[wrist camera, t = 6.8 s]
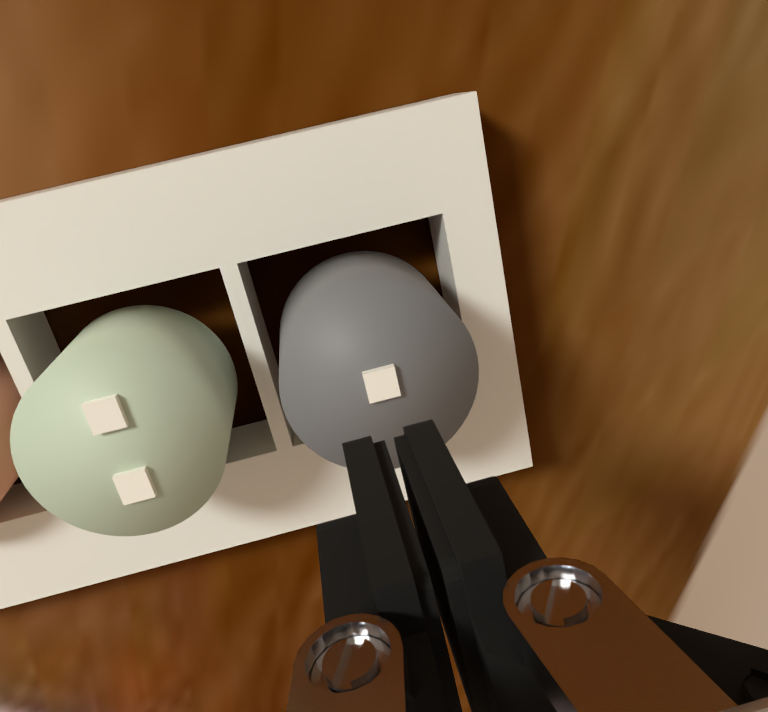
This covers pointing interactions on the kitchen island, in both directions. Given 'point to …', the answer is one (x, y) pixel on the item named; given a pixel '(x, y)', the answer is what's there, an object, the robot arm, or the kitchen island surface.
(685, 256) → the kitchen island surface
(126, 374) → the button
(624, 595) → the robot arm
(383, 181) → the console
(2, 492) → the button
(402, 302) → the button
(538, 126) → the kitchen island surface
